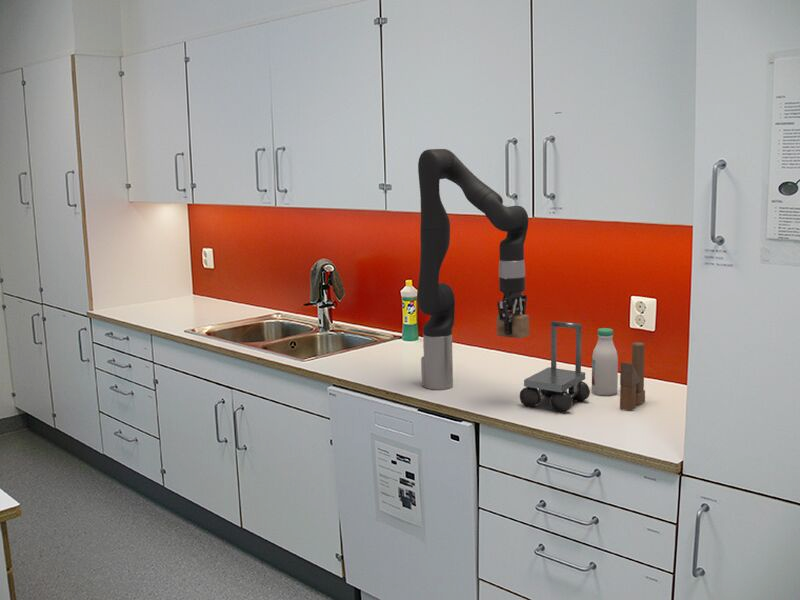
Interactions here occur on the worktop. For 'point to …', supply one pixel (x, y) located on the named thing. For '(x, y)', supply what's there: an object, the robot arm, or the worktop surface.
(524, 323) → the block
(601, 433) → the worktop surface
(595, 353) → the milk bottle
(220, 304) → the worktop surface
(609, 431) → the worktop surface
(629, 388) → the wooden block
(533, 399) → the trolley
